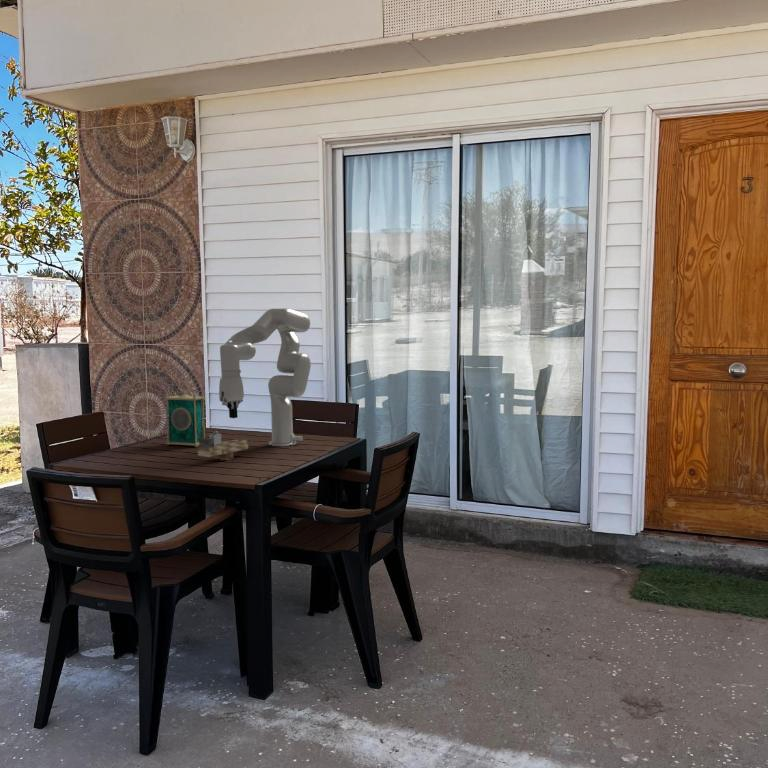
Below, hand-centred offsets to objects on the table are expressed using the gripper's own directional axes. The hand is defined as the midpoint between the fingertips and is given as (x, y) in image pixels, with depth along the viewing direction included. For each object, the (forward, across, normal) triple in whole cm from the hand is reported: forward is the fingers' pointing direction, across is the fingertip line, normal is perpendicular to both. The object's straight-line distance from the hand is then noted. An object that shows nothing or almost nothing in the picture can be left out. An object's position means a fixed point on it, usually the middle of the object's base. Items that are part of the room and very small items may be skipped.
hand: (233, 417), depth 315 cm
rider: (+11, +11, 0) cm, 15 cm away
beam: (+16, +7, 0) cm, 18 cm away
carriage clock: (+17, -7, -39) cm, 44 cm away
